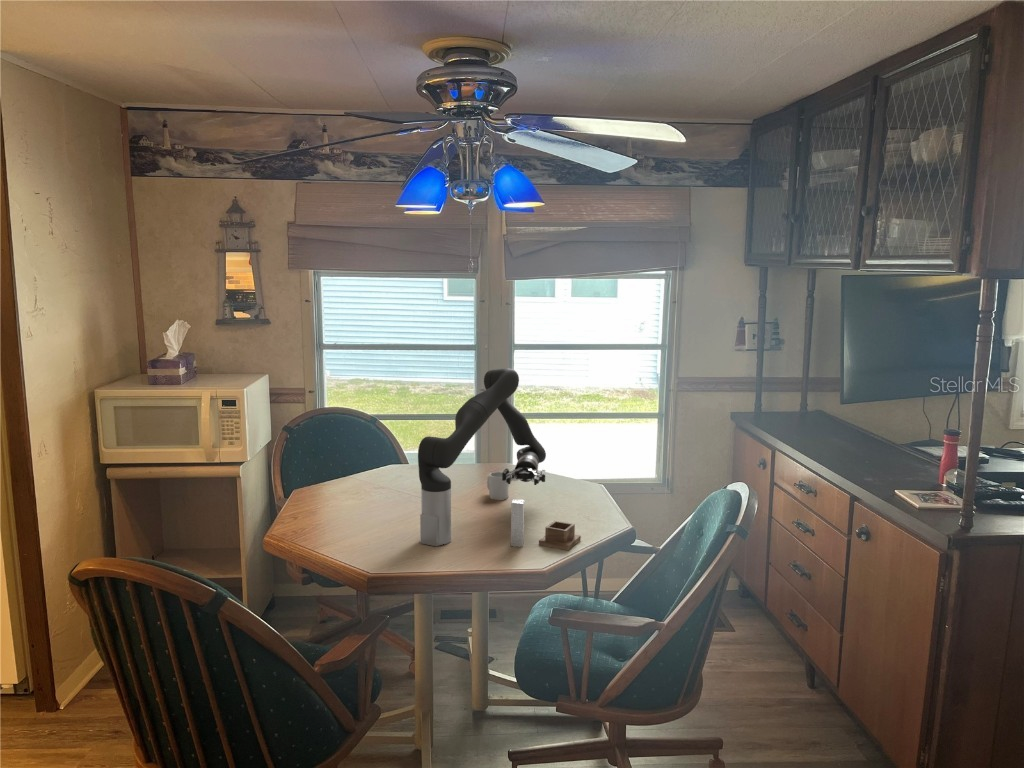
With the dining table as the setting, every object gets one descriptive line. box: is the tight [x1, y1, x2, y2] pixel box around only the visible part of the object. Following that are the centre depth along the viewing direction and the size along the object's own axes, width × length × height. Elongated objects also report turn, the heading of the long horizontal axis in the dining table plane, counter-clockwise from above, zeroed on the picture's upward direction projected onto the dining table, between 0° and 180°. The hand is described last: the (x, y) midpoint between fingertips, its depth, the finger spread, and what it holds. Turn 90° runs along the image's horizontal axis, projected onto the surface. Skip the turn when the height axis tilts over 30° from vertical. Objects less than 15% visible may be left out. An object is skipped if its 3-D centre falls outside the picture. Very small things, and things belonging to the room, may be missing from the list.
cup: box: [486, 471, 510, 501], centre depth 282 cm, size 7×10×9 cm
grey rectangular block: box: [510, 499, 525, 548], centre depth 233 cm, size 4×4×14 cm
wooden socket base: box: [538, 520, 582, 551], centre depth 236 cm, size 10×10×6 cm
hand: (522, 481), depth 242 cm, fingers open, 8 cm apart
